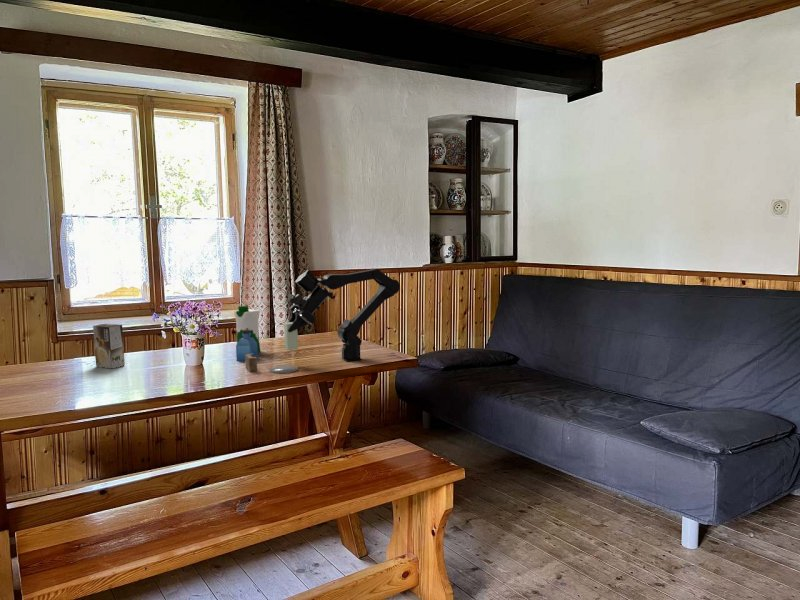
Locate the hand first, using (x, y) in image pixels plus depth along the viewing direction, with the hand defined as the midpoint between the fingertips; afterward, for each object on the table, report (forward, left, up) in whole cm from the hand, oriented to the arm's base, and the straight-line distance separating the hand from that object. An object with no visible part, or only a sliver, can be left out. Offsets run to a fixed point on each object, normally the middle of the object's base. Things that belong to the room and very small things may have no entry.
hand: (287, 330), depth 232 cm
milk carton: (+9, -32, -14) cm, 36 cm away
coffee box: (+62, -28, -14) cm, 70 cm away
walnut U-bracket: (+14, 0, -13) cm, 19 cm away
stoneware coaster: (+3, +7, -13) cm, 15 cm away
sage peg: (-1, 0, -7) cm, 7 cm away
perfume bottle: (+12, -18, -14) cm, 26 cm away
